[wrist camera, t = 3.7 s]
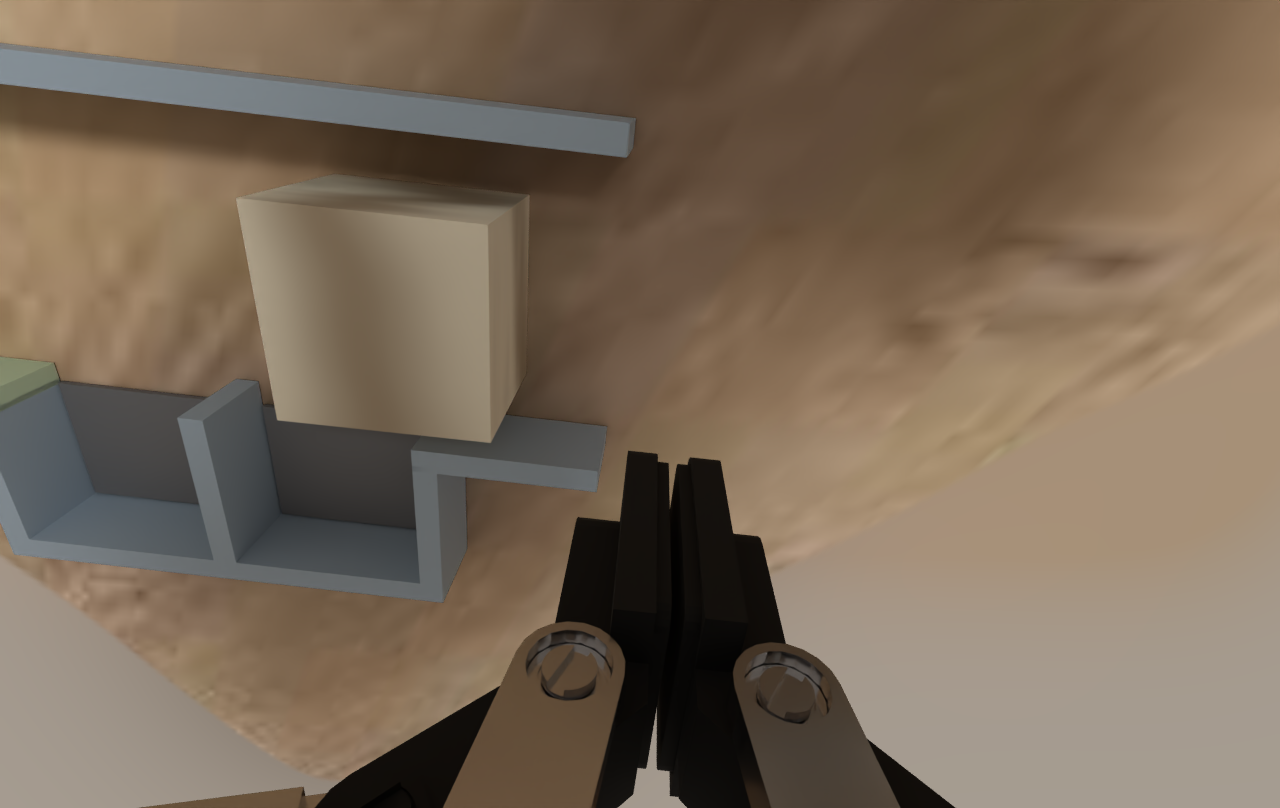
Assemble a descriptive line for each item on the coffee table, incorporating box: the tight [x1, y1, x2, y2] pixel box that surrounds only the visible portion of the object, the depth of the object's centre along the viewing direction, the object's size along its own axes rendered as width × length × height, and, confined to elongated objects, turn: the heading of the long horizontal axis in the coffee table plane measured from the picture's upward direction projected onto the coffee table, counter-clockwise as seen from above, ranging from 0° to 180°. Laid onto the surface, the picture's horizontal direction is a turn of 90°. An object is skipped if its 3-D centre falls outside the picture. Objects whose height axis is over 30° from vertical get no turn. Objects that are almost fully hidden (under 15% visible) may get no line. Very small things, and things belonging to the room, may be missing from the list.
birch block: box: [236, 174, 530, 443], centre depth 18 cm, size 6×6×5 cm
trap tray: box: [0, 43, 636, 603], centre depth 20 cm, size 28×17×3 cm, turn 84°
